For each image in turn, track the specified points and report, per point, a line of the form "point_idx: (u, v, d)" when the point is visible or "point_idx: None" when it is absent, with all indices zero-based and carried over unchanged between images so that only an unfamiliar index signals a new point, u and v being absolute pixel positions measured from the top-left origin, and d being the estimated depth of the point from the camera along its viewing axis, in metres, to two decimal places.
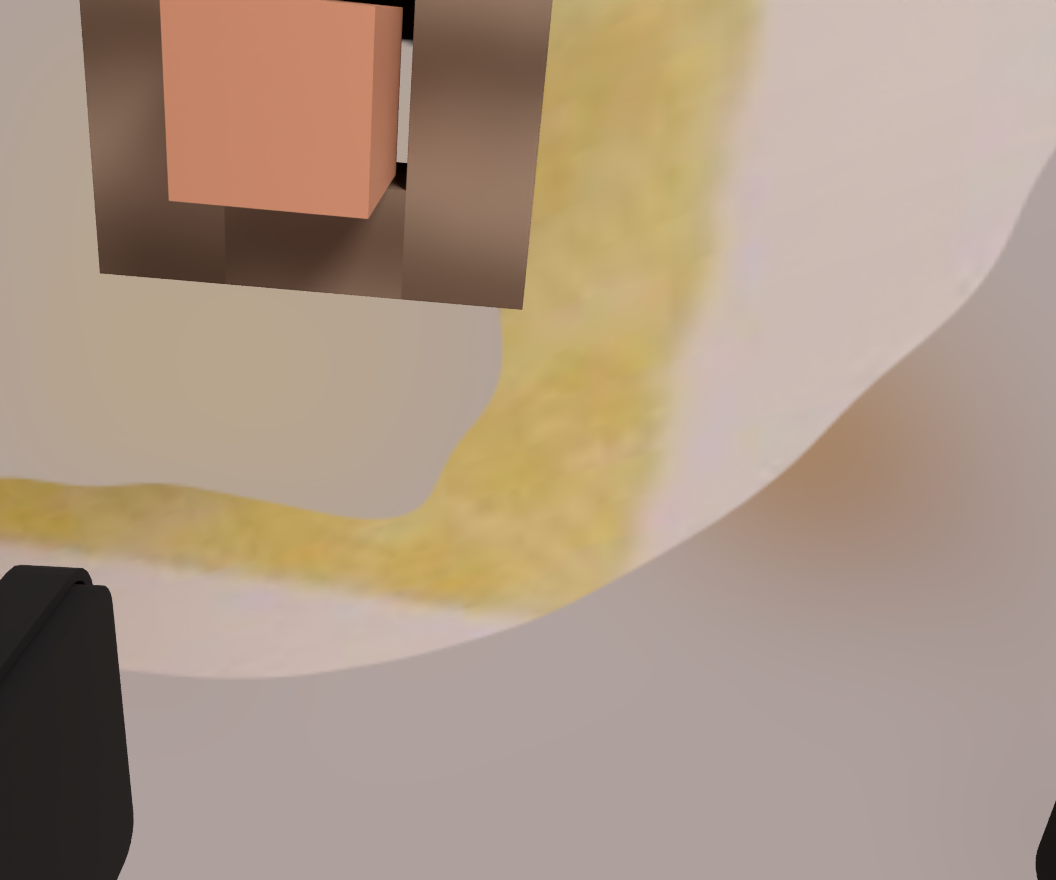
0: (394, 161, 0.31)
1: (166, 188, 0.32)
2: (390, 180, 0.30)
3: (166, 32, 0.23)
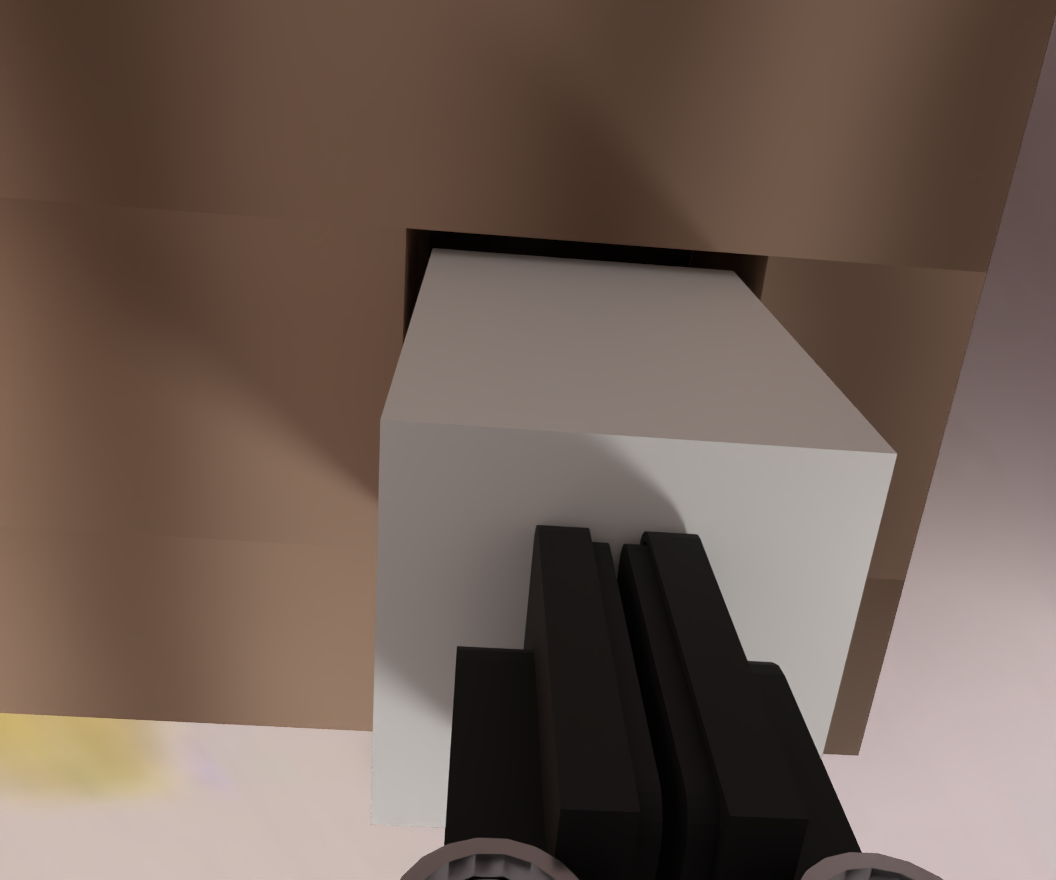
0: None
1: None
2: None
3: None
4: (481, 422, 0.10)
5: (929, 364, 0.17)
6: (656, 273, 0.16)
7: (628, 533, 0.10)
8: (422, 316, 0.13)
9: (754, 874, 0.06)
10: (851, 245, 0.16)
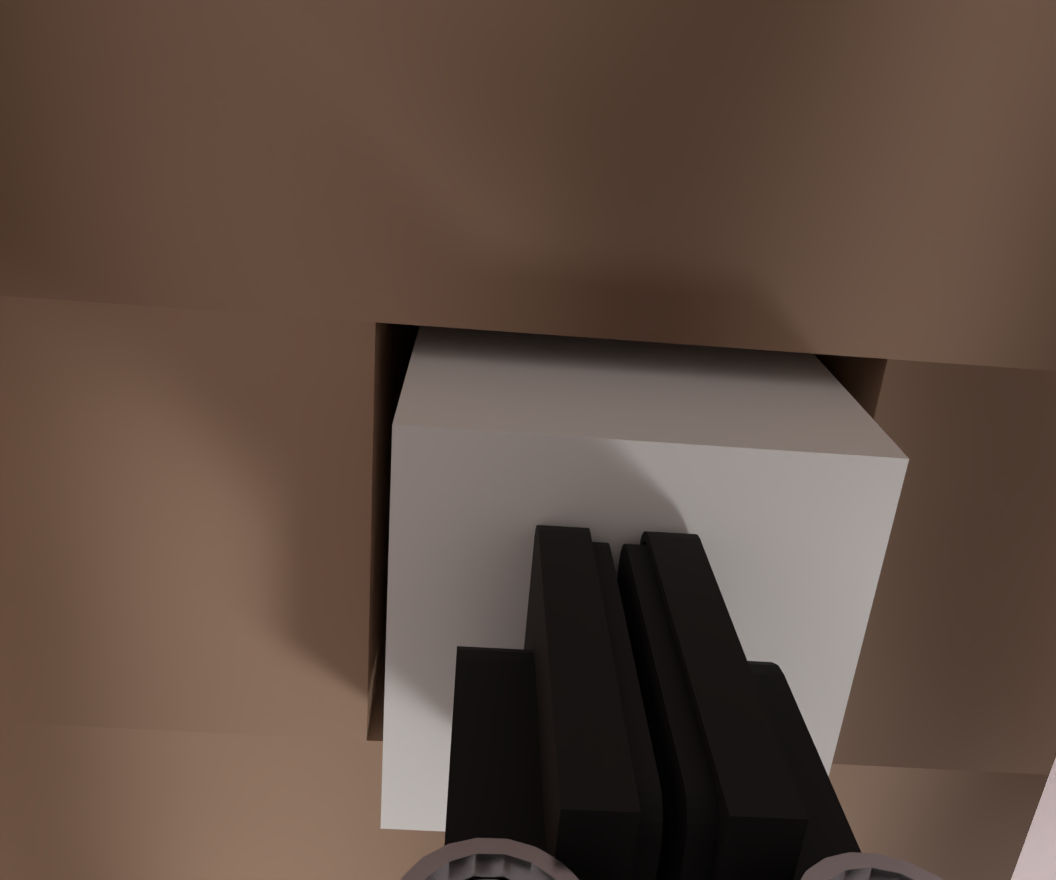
0: None
1: None
2: None
3: None
4: (492, 426, 0.10)
5: None
6: None
7: (640, 537, 0.10)
8: None
9: (753, 875, 0.06)
10: (1005, 344, 0.11)
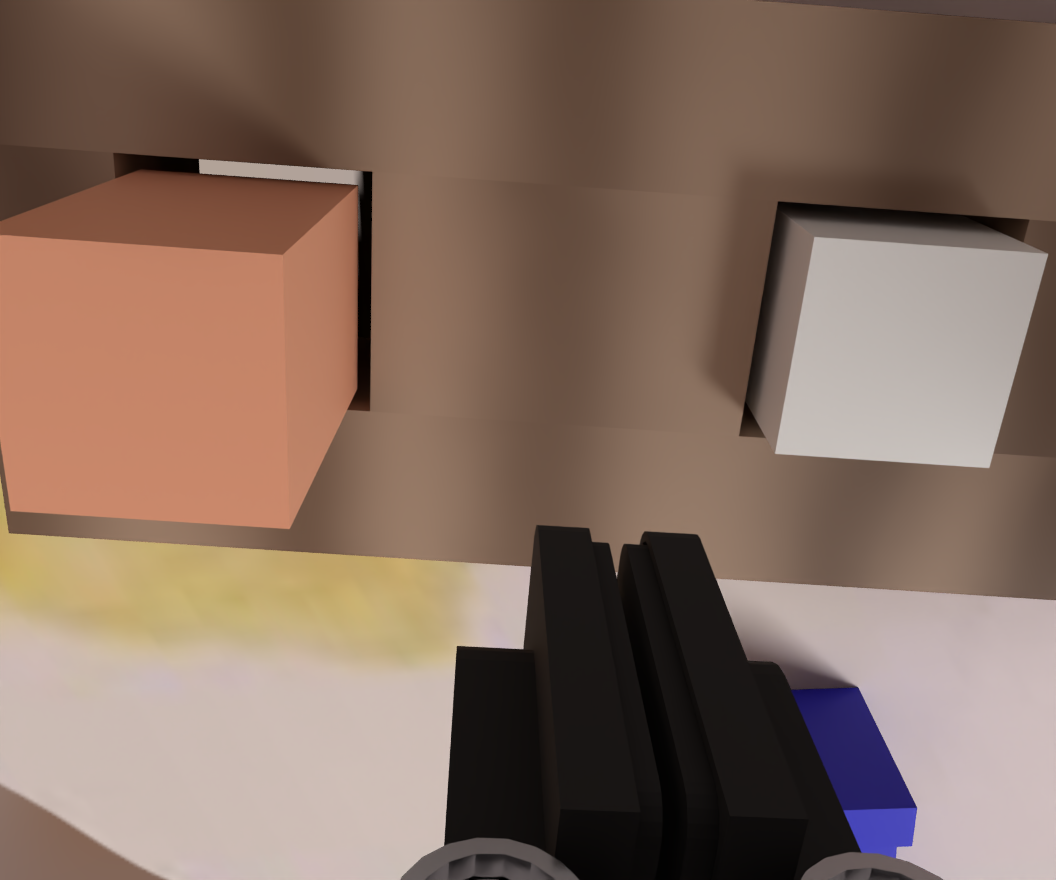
0: None
1: (75, 64, 0.21)
2: None
3: (217, 259, 0.16)
4: (857, 239, 0.21)
5: None
6: None
7: (920, 293, 0.21)
8: (782, 208, 0.24)
9: (754, 875, 0.06)
10: None
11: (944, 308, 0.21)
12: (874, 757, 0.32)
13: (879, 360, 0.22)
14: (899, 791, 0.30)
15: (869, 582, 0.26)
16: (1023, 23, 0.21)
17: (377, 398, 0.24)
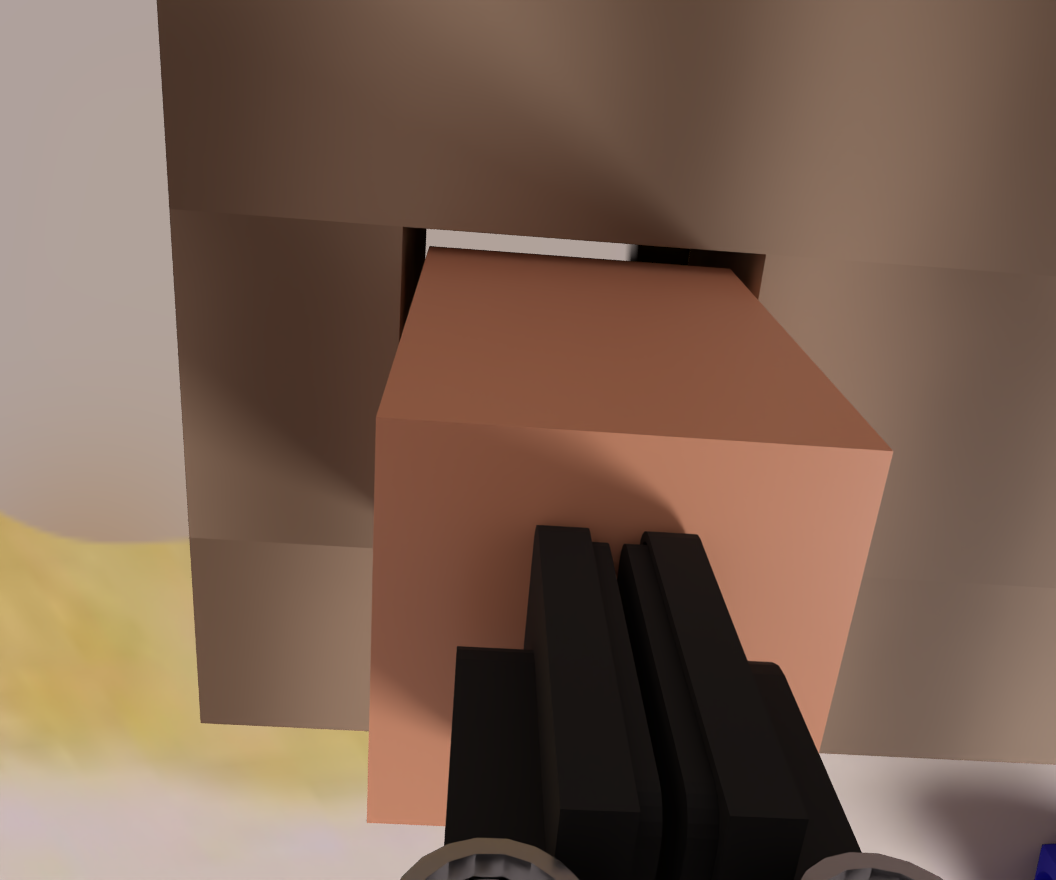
0: None
1: (363, 102, 0.15)
2: None
3: (786, 458, 0.10)
4: None
5: None
6: None
7: None
8: None
9: (754, 874, 0.06)
10: None
11: None
12: None
13: None
14: None
15: None
16: None
17: None
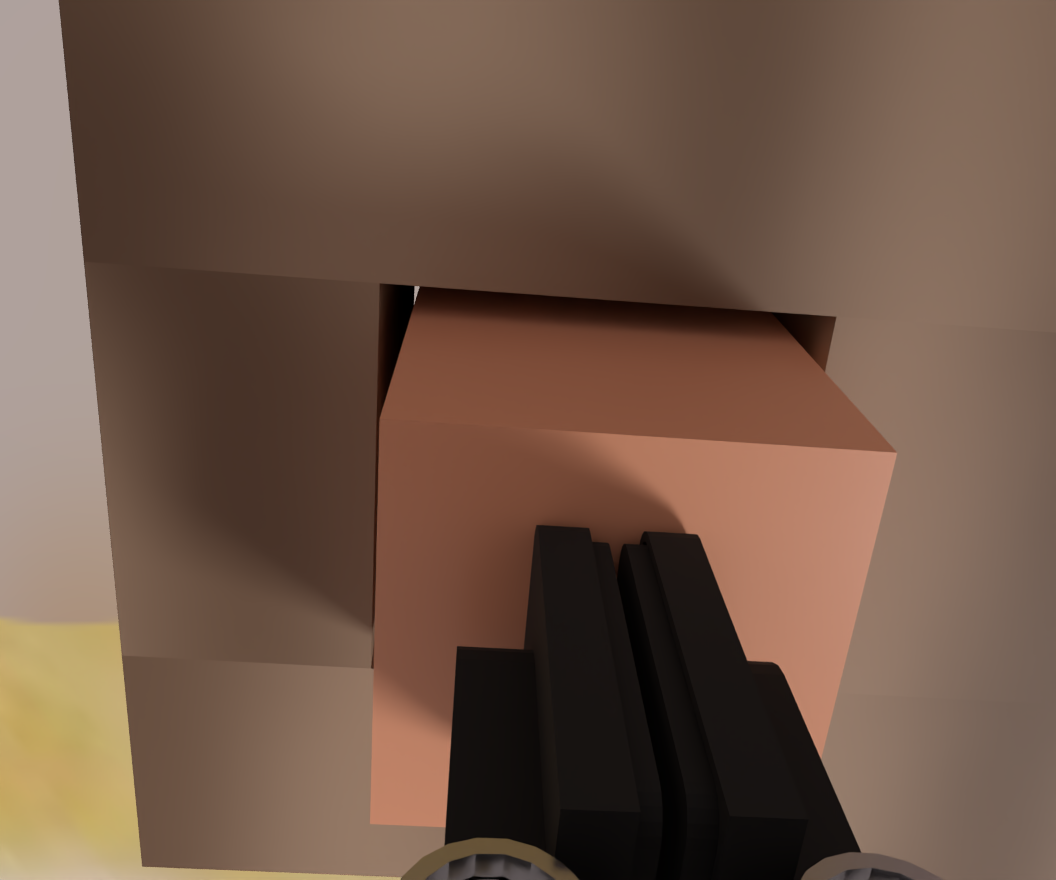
0: None
1: (328, 127, 0.12)
2: None
3: (790, 459, 0.10)
4: None
5: None
6: None
7: None
8: None
9: (754, 874, 0.06)
10: None
11: None
12: None
13: None
14: None
15: None
16: None
17: None
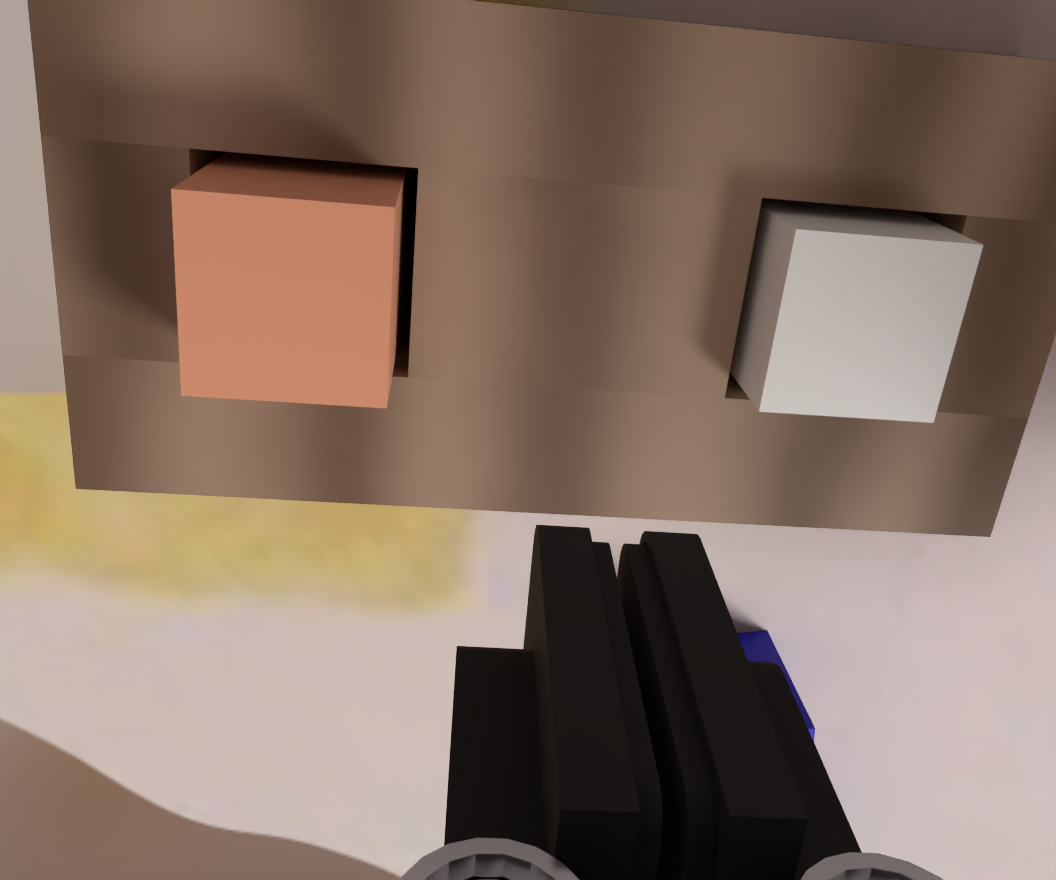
0: None
1: (159, 70, 0.24)
2: None
3: (348, 209, 0.23)
4: (830, 231, 0.25)
5: (1053, 281, 0.28)
6: None
7: (880, 277, 0.26)
8: (762, 203, 0.28)
9: (753, 875, 0.06)
10: (1014, 209, 0.27)
11: (899, 289, 0.26)
12: None
13: (846, 332, 0.26)
14: None
15: (830, 523, 0.31)
16: (964, 53, 0.25)
17: (414, 366, 0.28)
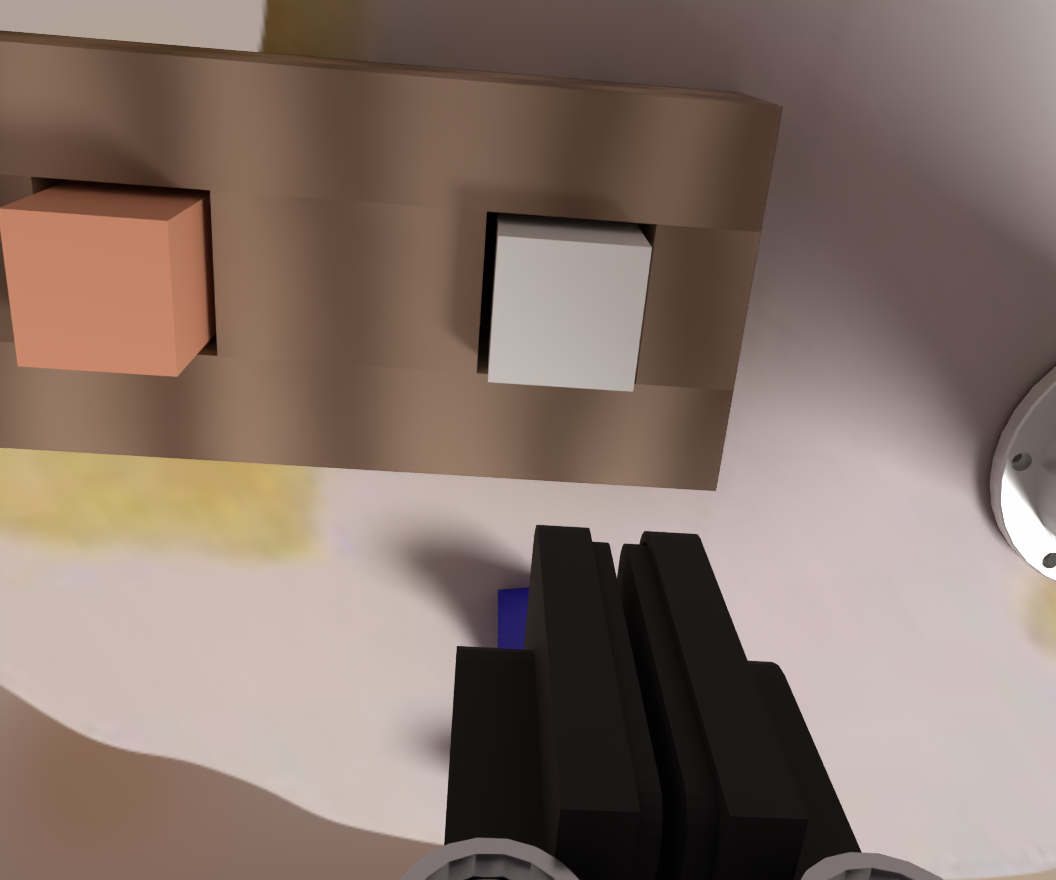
0: None
1: (4, 117, 0.32)
2: None
3: (132, 223, 0.30)
4: (527, 237, 0.32)
5: (737, 277, 0.35)
6: None
7: (572, 273, 0.32)
8: (501, 215, 0.35)
9: (754, 875, 0.06)
10: (695, 219, 0.34)
11: (589, 283, 0.33)
12: None
13: (549, 318, 0.33)
14: None
15: (578, 478, 0.37)
16: (635, 96, 0.32)
17: (222, 346, 0.35)
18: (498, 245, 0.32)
